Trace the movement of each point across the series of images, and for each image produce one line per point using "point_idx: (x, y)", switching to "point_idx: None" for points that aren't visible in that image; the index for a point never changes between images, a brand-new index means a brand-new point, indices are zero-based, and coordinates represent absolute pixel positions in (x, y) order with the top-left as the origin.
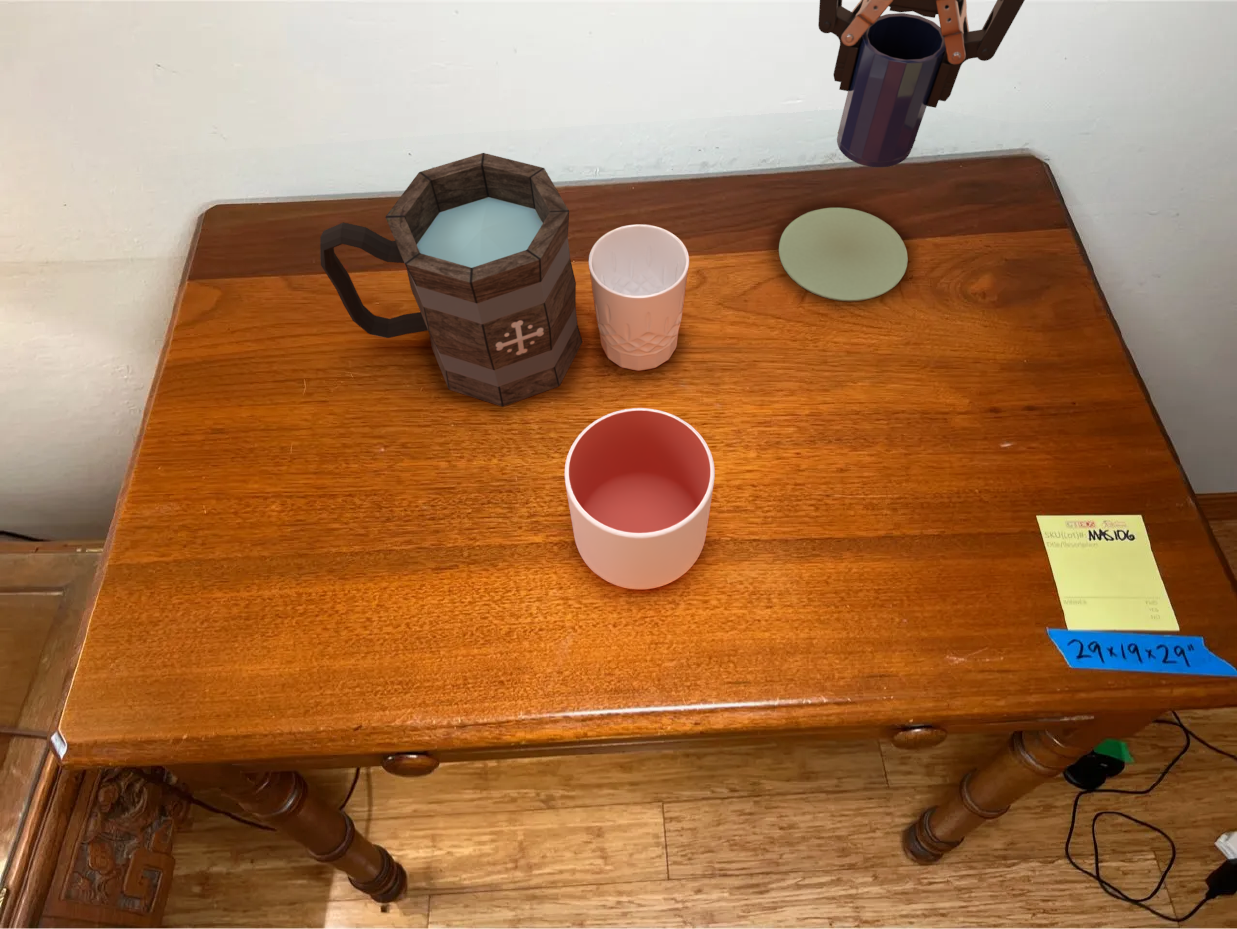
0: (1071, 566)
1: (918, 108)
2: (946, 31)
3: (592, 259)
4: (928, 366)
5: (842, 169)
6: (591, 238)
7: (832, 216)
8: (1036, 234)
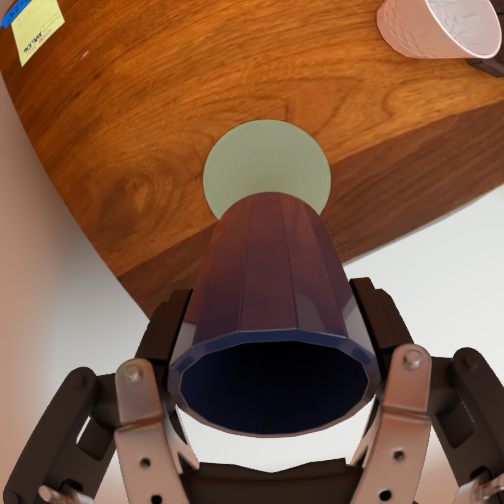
0: (48, 10)
1: (200, 272)
2: (148, 430)
3: (493, 15)
4: (151, 85)
5: None
6: (472, 136)
7: None
8: (127, 266)
